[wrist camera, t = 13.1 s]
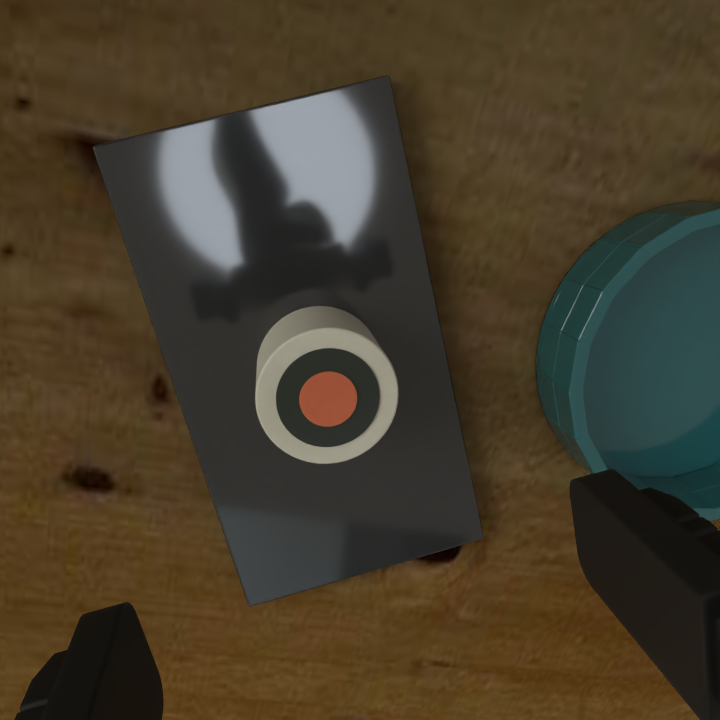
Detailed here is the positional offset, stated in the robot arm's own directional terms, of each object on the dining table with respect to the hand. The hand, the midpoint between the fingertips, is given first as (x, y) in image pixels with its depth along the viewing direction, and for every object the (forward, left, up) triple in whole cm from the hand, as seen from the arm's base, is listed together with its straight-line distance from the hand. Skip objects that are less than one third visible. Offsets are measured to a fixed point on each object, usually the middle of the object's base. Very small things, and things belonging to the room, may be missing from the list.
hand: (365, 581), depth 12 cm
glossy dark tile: (0, -1, -16) cm, 16 cm away
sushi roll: (0, -1, -15) cm, 15 cm away
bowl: (+16, -5, -16) cm, 23 cm away
